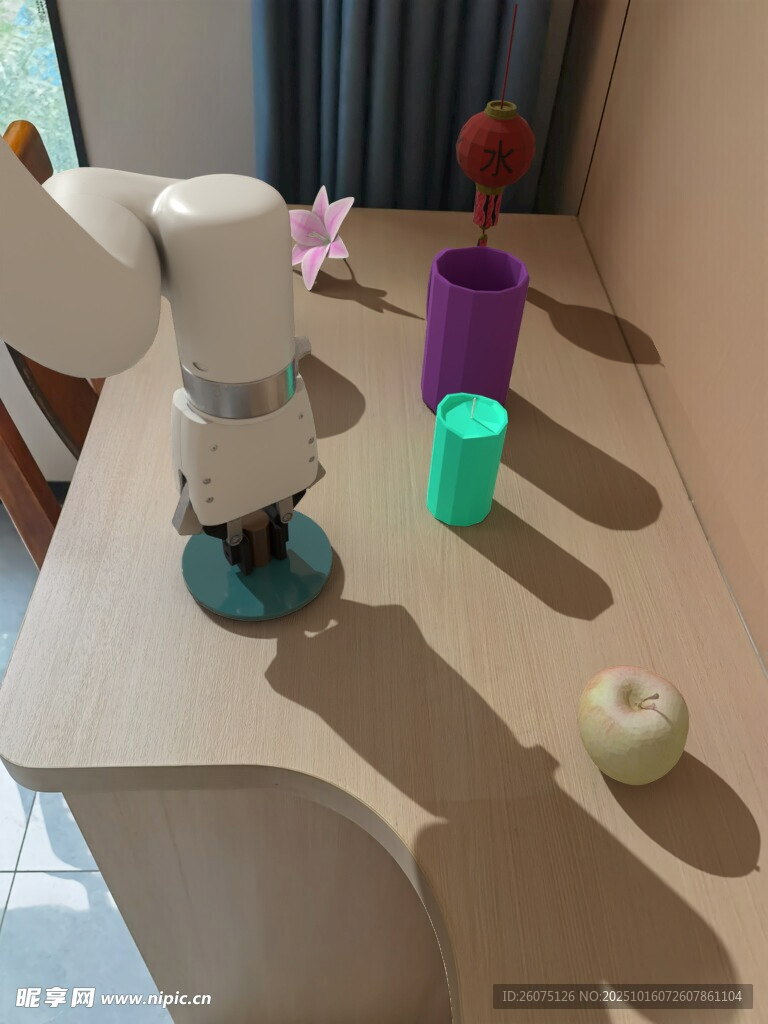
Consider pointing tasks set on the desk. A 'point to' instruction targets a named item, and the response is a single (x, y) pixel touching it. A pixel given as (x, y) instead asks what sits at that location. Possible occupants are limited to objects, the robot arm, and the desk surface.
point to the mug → (472, 323)
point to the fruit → (633, 724)
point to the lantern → (494, 153)
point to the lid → (259, 570)
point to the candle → (465, 458)
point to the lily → (318, 234)
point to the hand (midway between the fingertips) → (257, 555)
